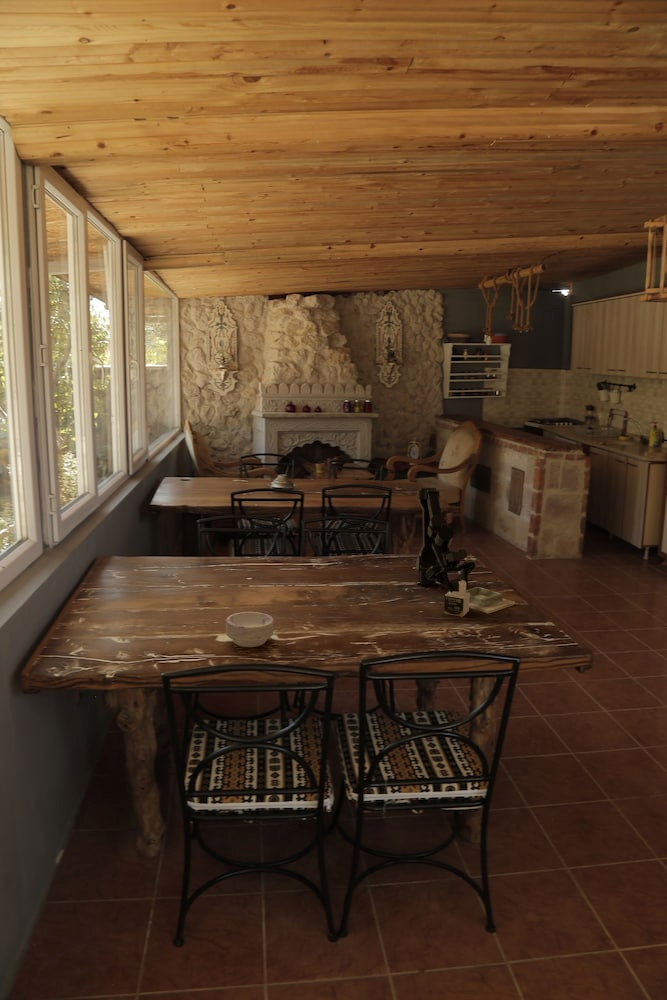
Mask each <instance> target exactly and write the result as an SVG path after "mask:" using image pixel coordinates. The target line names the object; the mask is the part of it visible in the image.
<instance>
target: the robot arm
mask: <svg viewBox="0 0 667 1000" xmlns="http://www.w3.org/2000/svg"><path fill="white" fill-rule="evenodd" d="M440 492H441V491H440V489H436V487H426V486H425V487H424V486H423V487H422V486H421V487H420V488H419V489H417V490H416V499H417V501H418V505H419V506H420V508H421V509H422V547H421V548H420V550H419V551H418V556H417V559H416V562H415V568H416V570H417V572H418V582H420V583H418V584H421V585H420V586H422V585H424V586H423V587H425V586H426V587H425V588H429V587H428V586H430V587H433V586H432V585H434V586H437V585H439V584H440V585H442V586H443V587H444V588H446V590H448V592H449V591H450V592H453V588H452V586H451V583H450V581H451V580H450V579H449V576H448V574H449V573H458V575H457V579H461V580H464V581H465V582H466V590H469V583H468V582H469V578H468V576H469V575H470V574H471V573H472V572H473V571H475V569H476V568H477V564H476V562H475V561H473V560H468V561H465V560H466V558H468V556H469V555H468V552H467V550H466V548H461V549H459V550H458V551H454V550H451V548H450V546H451V544H452V540H453V538H454V530H453V529H452V528H451V527H450V525H448V521H447V520H446V519H445V518H444V516H443V513H442V509H441V503H440V498H441V496H440V495H441V493H440ZM461 561H463V563H462V564H461V565H460V563H461ZM418 584H417V585H418ZM436 584H437V585H436Z"/></svg>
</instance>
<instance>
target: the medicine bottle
mask: <svg viewBox="0 0 667 1000" xmlns="http://www.w3.org/2000/svg"><path fill="white" fill-rule="evenodd" d="M449 581H450V583H451V586H452V588H453V592H450V591H449V590H448V592H447V593H446V594H445V595H444V602H443V603H444V607H443V613H444V614H446V615H451V616H455V617H456V616H457V617H461V618H463V617H464V616H465V615H466V614H467V613H468V612H469V611H470V608H469V598H470V593H469V592H466V582H465V581H464V580H461V579H459V578H453V579H451V580H449Z"/></svg>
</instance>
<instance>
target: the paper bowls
mask: <svg viewBox="0 0 667 1000" xmlns="http://www.w3.org/2000/svg"><path fill="white" fill-rule="evenodd" d="M274 621H275V620H274V617H273V616H272V615H270V614H266V613H264V612H260V611H259V612H257V611H241V612H235V613H233V614H231V615H228V616H227V618H226V620H225V635H226V636H227V637H228V638H230V639H231V640H232V642H233V644H236V645H237V646H238V647H243V648H255V647H256V648H257V647H260V646H263V645H264V644H265V643H266V642H267V640H268V639H271V638H272V636H274V631H275V630H274V629H275V626H274V624H275V622H274Z"/></svg>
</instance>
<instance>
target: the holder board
mask: <svg viewBox="0 0 667 1000" xmlns="http://www.w3.org/2000/svg"><path fill="white" fill-rule="evenodd" d="M466 592H469V593H470V598H469V609H473V610H476V611H479V612H482V613H485V614H491V613H495V612H497V611H500V610H503V609H506V608H510V607H512V606H515V605H516V601H513V600H509V599H506V598H504V596H503V595H504V594H503V593H502V592H497V591H493V590H491V589H487V588H483V587H480V586H476V587H472V588H470V589H469V588H468V590H466Z"/></svg>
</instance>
